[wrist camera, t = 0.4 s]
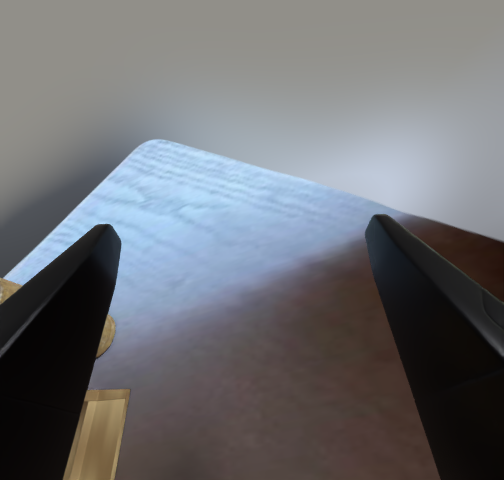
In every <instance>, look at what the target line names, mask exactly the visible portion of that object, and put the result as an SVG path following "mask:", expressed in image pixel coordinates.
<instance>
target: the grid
mask: <svg viewBox="0 0 504 480" xmlns="http://www.w3.org/2000/svg"><path fill="white" fill-rule="evenodd" d="M129 395H130V389H113V390H87V392H86V396H85V399H84V403H83V407H82V411H81V413H80V419H79V422H78V426H77V430H76V433H75V437H74V441H73V444H72V448H71V452H70V455H69V459H68V463H67V466H66V470H65V474H64V477H63V480H114V478H115V473H116V467H117V462H118V456H119V451H120V445H121V439H122V434H123V428H124V423H125V417H126V412H127V406H128V401H129Z"/></svg>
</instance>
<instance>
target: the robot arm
mask: <svg viewBox="0 0 504 480" xmlns="http://www.w3.org/2000/svg"><path fill="white" fill-rule="evenodd" d="M365 238H366V243H367V248H368V253H369V258H370V263H371V268H372V272H373V276H374V279H375V282H376V285H377V288H378V291H379V295H380V298H381V301H382V304H383V307H384V310H385V313H386V316H387V319H388V322H389V325H390V328H391V331H392V334H393V337H394V340H395V343H396V346H397V349H398V352H399V355H400V358H401V361H402V364H403V367H404V370H405V373H406V376H407V379H408V382H409V385H410V388H411V391H412V394H413V397H414V399H415V403H416V406H417V409H418V412H419V415H420V418H421V421H422V424H423V427H424V430H425V433H426V436H427V439H428V442H429V445H430V448H431V451H432V454H433V457H434V460H435V463H436V466H437V469H438V473H439V476H440V478H441V480H504V303H503V302H502V301H501V300H499V299H498V298H496V297H495V296H494V295H492V294H491V293H490V292H489V291H487V290H486V289H484V288H482V286H481V285H479V284H478V283H477V282H475V281H474V280H473V279H471V278H470V277H469V276H467V275H466V274H465V273H463V272H462V271H461V270H459V269H458V268H457V267H456V266H454V265H453V264H452V263H450V262H449V261H448V260H446V259H445V258H444V257H442V256H441V255H440V254H438V253H437V252H436V251H434V250H433V249H432V248H431V247H429V246H428V245H427V244H425V243H424V242H423V241H421V240H420V239H419V238H417V237H416V236H415V235H413V234H412V233H411V232H409V231H408V230H407V229H405V228H404V227H403V226H402V225H400V224H399V223H398V222H396V221H395V220H394V219H392V218H391V217H390V216H388V215H386V214H376V215H374V216H372V218H371V220H370V222H369V224H368V227H367V229H366V231H365ZM120 252H121V240H120V238H119V236H118V235H117V233H116V231H115V230H114V228H113V227H112V226H111V225H110V224H98V225H96V226H94V227H93V228H92V229H91V230H90V231H88V232H87V233H86V234H85V235H84V236H82V237H81V238H80V239H79V240H78V241H76V242H75V243H74V244H73V245H72V246H70V247H69V248H68V249H67V250H65V251H64V252H63V253H62V254H61V255H59V256H58V257H57V258H56V259H55V260H53V261H52V262H51V263H50V264H49V265H47V266H46V267H45V268H44V269H43V270H41V271H40V272H39V273H38V274H36V275H35V276H34V277H33V278H32V279H30V280H29V281H28V282H27V283H26V284H24V285H23V286H22V287H21V288H20V289H18V290H17V291H16V292H15V293H14V294H12V295H11V296H10V297H9V298H7V299H6V300H5V301H4V302H3V303H1V304H0V480H63V477H64V474H65V470H66V466H67V463H68V459H69V455H70V452H71V448H72V444H73V441H74V437H75V433H76V430H77V426H78V422H79V419H80V413H81V411H82V407H83V403H84V399H85V396H86V392H87V388H88V385H89V381H90V377H91V374H92V370H93V366H94V363H95V359H96V355H97V352H98V348H99V344H100V341H101V337H102V333H103V330H104V326H105V322H106V318H107V315H108V311H109V307H110V304H111V300H112V296H113V293H114V289H115V285H116V279H117V273H118V266H119V259H120Z"/></svg>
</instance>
